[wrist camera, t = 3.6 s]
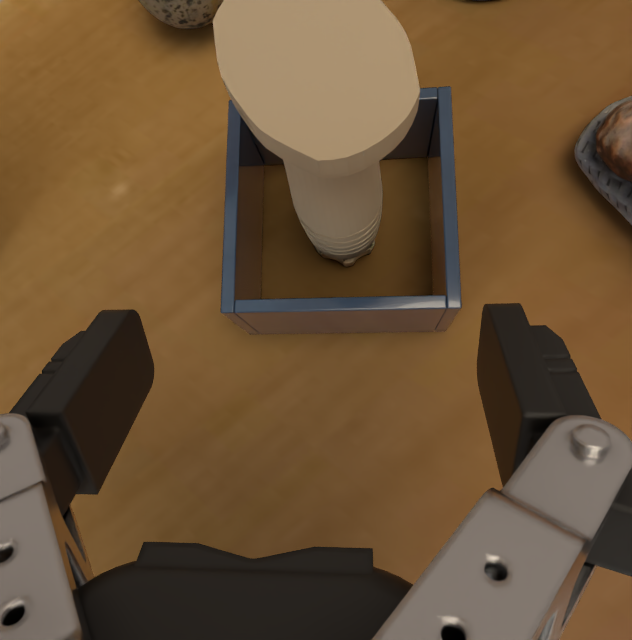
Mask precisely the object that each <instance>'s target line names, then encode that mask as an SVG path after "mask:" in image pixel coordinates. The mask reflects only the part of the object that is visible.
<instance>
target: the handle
mask: <svg viewBox="0 0 632 640" xmlns="http://www.w3.org/2000/svg"><path fill="white" fill-rule="evenodd" d="M213 29H214V39H215V47H216V54H217V62H218V66H219V69H220V73H221V76H222V79H223V82H224V84H225V87H226V89H227V91H228V94H229V96H230V98H231V100H232V102H233V104H234V106H235V107H236V109H237V111H238V112H239V114H240V115H241V117H242V118H243V120H244V121H245V123H246V124H247V126H248V127H249V128H250V130H251V131H252V133H253V134H254V135H255V136H256V137H257V139H258V140H259V141H260V142H261V143H262V144H263V145H264V146H265V147H266V148H267V149H268V150H270V151H271V152H273V153H274V154H276V155H277V156H279V157H280V158H282V159H283V161H284V165H285V169H286V174H287V178H288V183H289V187H290V191H291V196H292V200H293V205H294V208H295V210H296V213H297V215H298V218H299V220H300V223H301V225H302V227H303V228H304V230H305V232H306V234H307V236H308V237H309V239H310V240H311V242H312V243H313V244H314V247H315V249H316V250H317V252H318V253H319V254H320V255H321V256H322V257H323V258H331V259H335V260H337V261H339V262H340V263H342V264H343V265H344V266H345V267H346V266H353V265H354V262H355V261H356V260H357V259H358V258H360V257H361V256H363V255H366V254H367V255H368V254H370V252H371V251H372V249H373V247H374V245H375V240H374V239H375V237H376V235H377V232H378V229H379V225H380V221H381V215H382V203H383V190H382V181H381V173H380V165H379V161H380V160H381V159H382V158H384V157H385V156H386V155H387V154H389V153H390V152H391V151H392V150H394V149H395V147H396V146H397V145H398V144H399V143H400V142H401V141H402V140H403V139H404V138H405V136H406V134H407V132H408V131H409V129H410V127H411V126H412V123H413V121H414V118H415V116H416V113H417V110H418V104H419V97H420V88H419V82H418V77H417V72H416V67H415V62H414V58H413V53H412V49H411V45H410V43H409V40H408V37H407V34H406V32H405V30H404V29H403V27H402V26H401V24H400V23H399V21H398V20H397V18H396V17H395V16H394V15H393V14H392V12H391V11H390V10H389V9H388V8H387V7H386V5H385V4H384V3H383V2H382V1H381V0H224V1H223V2H222V4H221V6H220V7H219V9H218V10H217V12H216V15H215V17H214V19H213Z"/></svg>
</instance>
